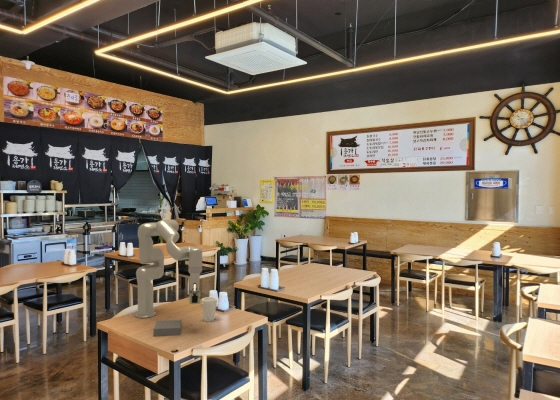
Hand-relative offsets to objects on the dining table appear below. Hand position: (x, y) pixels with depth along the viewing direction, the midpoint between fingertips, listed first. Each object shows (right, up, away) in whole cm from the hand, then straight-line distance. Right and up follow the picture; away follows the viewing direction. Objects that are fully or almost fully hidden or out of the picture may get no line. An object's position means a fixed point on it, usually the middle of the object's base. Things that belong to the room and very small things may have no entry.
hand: (194, 300), depth 226 cm
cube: (0, -1, 0) cm, 1 cm away
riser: (-15, -17, -1) cm, 23 cm away
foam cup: (+4, -17, +20) cm, 27 cm away
